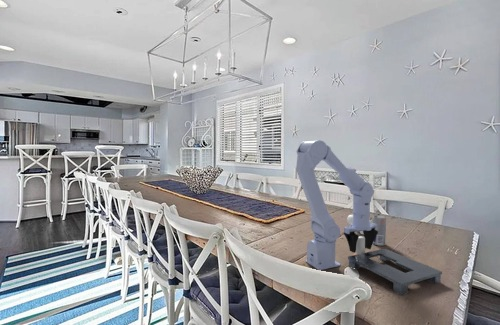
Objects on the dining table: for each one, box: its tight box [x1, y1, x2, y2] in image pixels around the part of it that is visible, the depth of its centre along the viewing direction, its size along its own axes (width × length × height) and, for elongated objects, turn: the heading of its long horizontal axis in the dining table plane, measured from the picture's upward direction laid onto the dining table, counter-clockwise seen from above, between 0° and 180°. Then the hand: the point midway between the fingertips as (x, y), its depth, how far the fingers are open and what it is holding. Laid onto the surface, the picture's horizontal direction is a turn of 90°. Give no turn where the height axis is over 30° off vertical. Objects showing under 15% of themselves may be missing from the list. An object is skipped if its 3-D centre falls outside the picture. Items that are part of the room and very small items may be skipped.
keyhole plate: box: [347, 248, 443, 296], centre depth 84 cm, size 18×20×3 cm
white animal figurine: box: [346, 214, 372, 235], centre depth 128 cm, size 9×8×15 cm
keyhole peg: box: [352, 235, 366, 256], centre depth 96 cm, size 5×5×8 cm
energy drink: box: [371, 214, 387, 247], centre depth 111 cm, size 5×5×12 cm
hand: (360, 250), depth 96 cm, fingers open, 7 cm apart
